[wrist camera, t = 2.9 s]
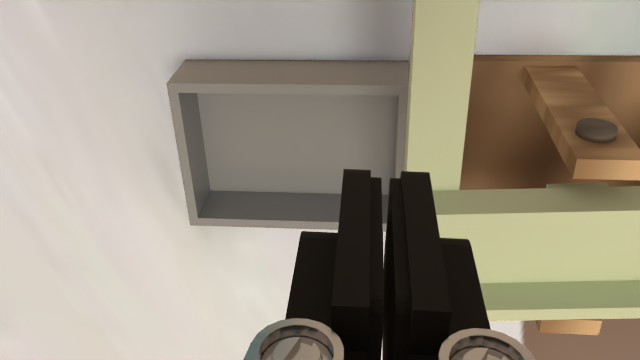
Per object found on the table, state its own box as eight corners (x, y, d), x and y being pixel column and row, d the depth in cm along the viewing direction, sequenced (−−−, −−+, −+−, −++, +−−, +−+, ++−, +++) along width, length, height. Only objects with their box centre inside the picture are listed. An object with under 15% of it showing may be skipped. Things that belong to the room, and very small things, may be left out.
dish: (185, 59, 39) (166, 83, 36) (407, 61, 38) (410, 85, 35) (205, 193, 44) (190, 225, 41) (400, 198, 43) (402, 231, 40)
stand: (748, 54, 36) (902, 157, 25) (693, 212, 42) (800, 349, 31) (414, 53, 38) (427, 148, 27) (406, 204, 43) (413, 332, 33)
